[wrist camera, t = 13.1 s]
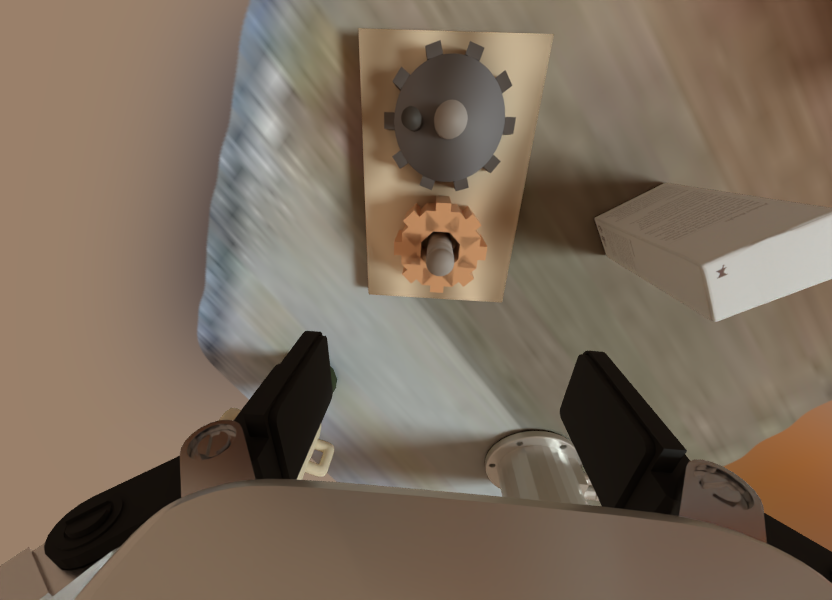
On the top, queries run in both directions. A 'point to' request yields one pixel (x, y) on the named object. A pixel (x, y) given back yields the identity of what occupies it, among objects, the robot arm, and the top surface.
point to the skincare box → (719, 246)
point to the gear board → (482, 185)
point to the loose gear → (440, 220)
